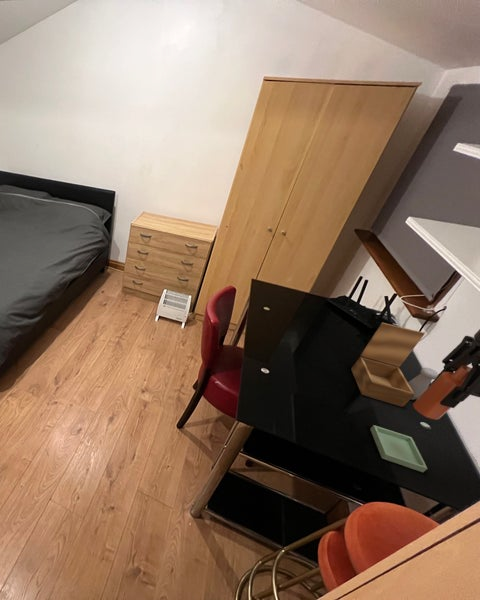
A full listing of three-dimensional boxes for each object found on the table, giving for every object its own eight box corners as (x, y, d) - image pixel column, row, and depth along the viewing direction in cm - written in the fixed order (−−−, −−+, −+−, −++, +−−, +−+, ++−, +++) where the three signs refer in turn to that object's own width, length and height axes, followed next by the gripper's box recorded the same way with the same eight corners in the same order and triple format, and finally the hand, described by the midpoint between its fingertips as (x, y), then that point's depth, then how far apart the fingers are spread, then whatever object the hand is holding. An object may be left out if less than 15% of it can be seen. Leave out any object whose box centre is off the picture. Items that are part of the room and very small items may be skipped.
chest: (402, 407, 115) (415, 394, 111) (361, 394, 118) (372, 382, 115) (388, 379, 126) (398, 367, 122) (350, 368, 130) (360, 356, 126)
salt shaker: (401, 387, 123) (424, 362, 116) (420, 397, 119) (445, 373, 112) (396, 393, 120) (418, 368, 113) (415, 404, 116) (439, 379, 109)
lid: (425, 333, 114) (423, 332, 115) (382, 323, 118) (382, 322, 119) (400, 366, 122) (399, 365, 123) (361, 356, 126) (360, 355, 126)
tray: (423, 472, 94) (427, 468, 93) (381, 458, 97) (385, 454, 96) (407, 441, 103) (411, 437, 102) (370, 428, 106) (373, 424, 105)
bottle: (444, 422, 90) (490, 380, 81) (417, 414, 92) (460, 372, 83) (434, 406, 95) (476, 365, 86) (409, 399, 97) (448, 358, 87)
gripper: (465, 308, 86) (410, 369, 99) (511, 351, 71) (440, 417, 84) (501, 316, 84) (440, 378, 96) (557, 362, 69) (477, 428, 81)
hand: (440, 396), depth 90 cm, fingers closed on bottle, 6 cm apart
